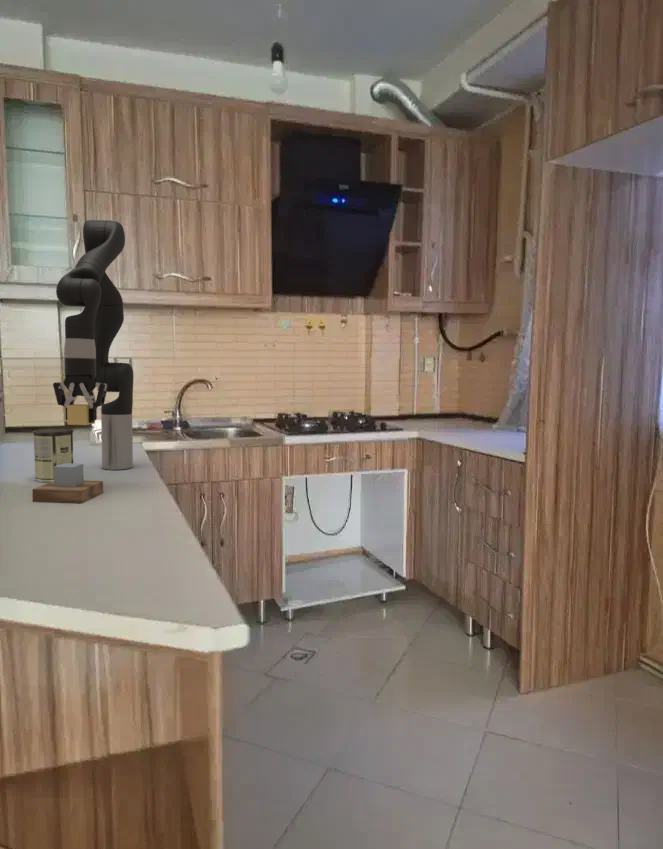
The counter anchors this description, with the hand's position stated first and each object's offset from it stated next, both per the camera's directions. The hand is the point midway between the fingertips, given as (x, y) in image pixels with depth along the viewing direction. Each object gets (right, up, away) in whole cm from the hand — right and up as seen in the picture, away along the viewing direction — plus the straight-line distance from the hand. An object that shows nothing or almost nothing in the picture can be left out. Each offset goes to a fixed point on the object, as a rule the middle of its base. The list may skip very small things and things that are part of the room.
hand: (81, 422), depth 157 cm
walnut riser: (0, -19, -7) cm, 20 cm away
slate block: (0, -16, -7) cm, 17 cm away
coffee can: (-14, -16, +15) cm, 26 cm away
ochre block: (0, 0, 0) cm, 0 cm away
